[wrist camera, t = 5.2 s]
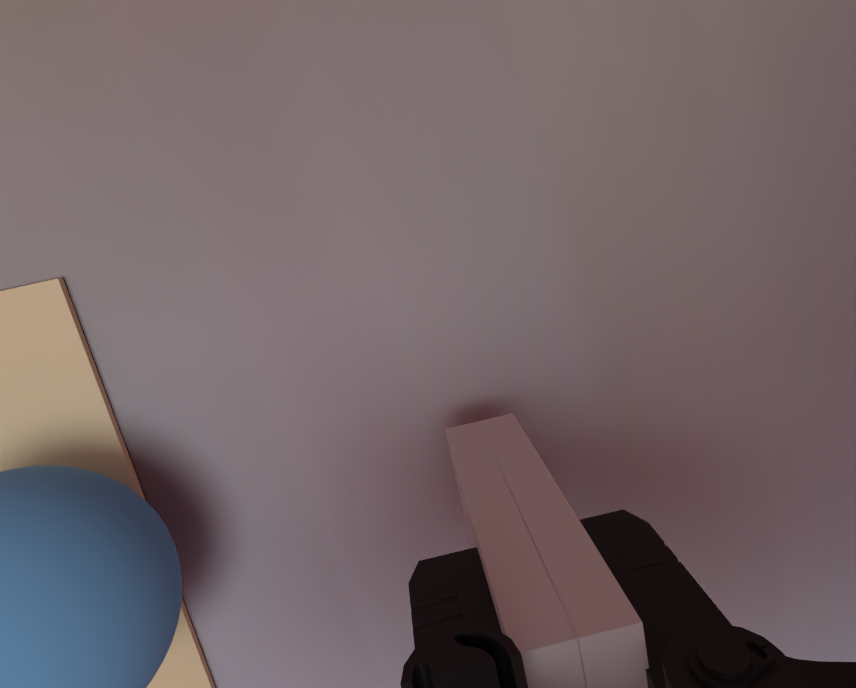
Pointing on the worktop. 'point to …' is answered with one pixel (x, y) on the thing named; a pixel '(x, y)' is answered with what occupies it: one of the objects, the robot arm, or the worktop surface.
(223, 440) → the worktop surface
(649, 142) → the worktop surface
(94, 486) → the ball
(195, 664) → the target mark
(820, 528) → the worktop surface
